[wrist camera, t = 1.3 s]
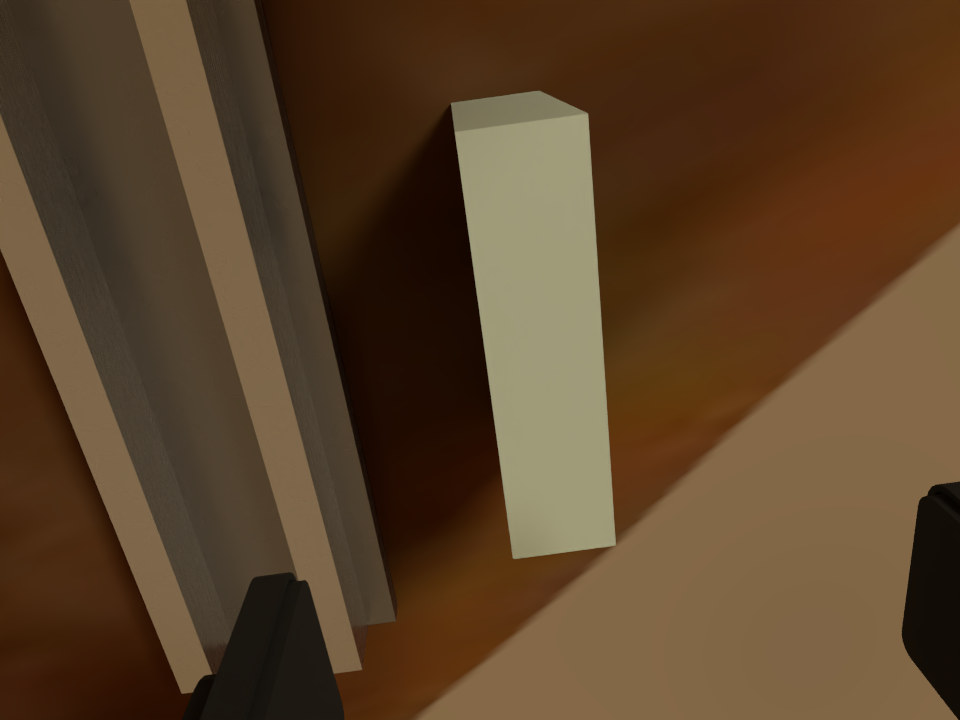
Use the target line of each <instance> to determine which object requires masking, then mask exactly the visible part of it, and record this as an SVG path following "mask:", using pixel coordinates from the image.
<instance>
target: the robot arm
mask: <svg viewBox="0 0 960 720" xmlns="http://www.w3.org/2000/svg"><path fill="white" fill-rule="evenodd" d="M902 639H903V643H904V646H905V649H906V651H907V653H908V655H909V656H910V658H911V659H912V661H913V662H914V663H915V664H916V666H917V667H918V668H919V670H920V671H921V672H922V673H923V675H924V676H925V677H926V678H927V680H928V681H929V682H930V684H931V685H932V686H933V688H934V689H935V690H936V691H937V693H938V694H939V695H940V697H941V698H942V699H943V700H944V701H945V703H946V704H947V706H948V707H949V708H950V709H951V710H952V712H953V713H954V715H955V716H956V717H957V718H958V720H960V482H954V483H946V484H939V485H935V486H932V487H931V489H930V490H929V492H928V495H927V496H925V497H922V498H921V499H920V501H919V505H918V511H917V519H916V527H915V534H914V542H913V549H912V557H911V565H910V573H909V580H908V588H907V595H906V603H905V610H904V619H903V626H902ZM182 720H344V710H343V705H342V701H341V698H340V694H339V691H338V687H337V684H336V680H335V676H334V673H333V669H332V666H331V662H330V659H329V655H328V651H327V648H326V644H325V641H324V637H323V633H322V630H321V626H320V623H319V619H318V616H317V612H316V608H315V605H314V601H313V598H312V594H311V591H310V587H309V584H308V582H307V581H306V580H301V581H297V580H296V577H295V576H294V574H293V573H291V572H287V573H280V574H273V575H265V576H258V577H255V578H253V579H252V581H251V583H250V585H249V588H248V591H247V593H246V596H245V599H244V601H243V604H242V607H241V609H240V612H239V615H238V618H237V620H236V623H235V626H234V628H233V631H232V634H231V637H230V639H229V642H228V645H227V647H226V650H225V653H224V655H223V658H222V661H221V664H220V666H219V669H218V672H217V674H212V675H204V676H203V677H202V678H201V679H200V680H199V681H198V683H197V685H196V687H195V689H194V691H193V694H192V696H191V699H190V701H189V704H188V706H187V709H186V711H185V714H184V716H183V719H182Z"/></svg>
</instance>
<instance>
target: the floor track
mask: <svg viewBox="0 0 960 720" xmlns="http://www.w3.org/2000/svg"><path fill="white" fill-rule="evenodd" d="M0 249H1V252H2V254H3V257H4V259H5V262H6V264H7V267H8V269H9V271H10V274H11V276H12V279H13V281H14V284H15V286H16V289H17V291H18V293H19V296H20V298H21V301H22V303H23V306H24V308H25V311H26V313H27V316H28V318H29V320H30V323H31V325H32V328H33V330H34V333H35V335H36V338H37V340H38V343H39V345H40V347H41V350H42V352H43V355H44V357H45V360H46V362H47V365H48V367H49V369H50V372H51V374H52V377H53V379H54V382H55V384H56V387H57V389H58V392H59V394H60V396H61V399H62V401H63V404H64V406H65V409H66V411H67V414H68V416H69V419H70V421H71V423H72V426H73V428H74V431H75V433H76V436H77V438H78V441H79V443H80V445H81V448H82V450H83V453H84V455H85V458H86V460H87V463H88V465H89V468H90V470H91V472H92V475H93V477H94V480H95V482H96V485H97V487H98V490H99V492H100V495H101V497H102V499H103V502H104V504H105V507H106V509H107V512H108V514H109V517H110V519H111V521H112V524H113V526H114V529H115V531H116V534H117V536H118V539H119V541H120V544H121V546H122V548H123V551H124V553H125V556H126V558H127V561H128V563H129V566H130V568H131V571H132V573H133V575H134V578H135V580H136V583H137V585H138V588H139V590H140V593H141V595H142V597H143V600H144V602H145V605H146V607H147V610H148V612H149V615H150V617H151V620H152V622H153V624H154V627H155V629H156V632H157V634H158V637H159V639H160V642H161V644H162V647H163V649H164V651H165V654H166V656H167V659H168V661H169V664H170V666H171V669H172V671H173V673H174V676H175V678H176V681H177V683H178V686H179V688H180V691H181V693H182V694H184V693H191V692H193V691H194V689H195V687H196V685H197V683H198V681H199V680H200V679H201V678H202V677H203V676H204V675H212V674H217V672H218V669H219V666H220V664H221V661H222V658H223V655H224V653H225V650H226V647H227V645H228V642H229V639H230V637H231V634H232V631H233V628H234V626H235V623H236V620H237V618H238V615H239V612H240V609H241V607H242V604H243V601H244V599H245V596H246V593H247V591H248V588H249V585H250V583H251V581H252V579H253V578H255V577H258V576H265V575H273V574H280V573H287V572H291V573H293V574H294V576H295V577H296V580H297V581H301V580H306V581H307V582H308V584H309V587H310V591H311V594H312V598H313V601H314V605H315V608H316V612H317V616H318V619H319V623H320V626H321V630H322V633H323V637H324V641H325V644H326V648H327V651H328V655H329V659H330V662H331V666H332V669H333V673H334V674H335V673H342V672H350V671H357V670H362V668H363V660H364V653H365V645H366V637H367V630H368V625H371V624H379V623H386V622H394V621H396V617H397V601H396V596H395V592H394V588H393V583H392V579H391V574H390V570H389V565H388V561H387V557H386V552H385V548H384V543H383V539H382V534H381V530H380V525H379V521H378V517H377V512H376V508H375V503H374V499H373V494H372V490H371V486H370V481H369V477H368V472H367V468H366V463H365V459H364V455H363V450H362V446H361V441H360V437H359V432H358V428H357V423H356V419H355V415H354V410H353V406H352V401H351V397H350V392H349V388H348V384H347V379H346V375H345V370H344V366H343V361H342V357H341V352H340V348H339V344H338V339H337V335H336V330H335V326H334V321H333V317H332V313H331V308H330V304H329V299H328V295H327V290H326V286H325V281H324V277H323V273H322V268H321V264H320V259H319V255H318V250H317V246H316V242H315V237H314V233H313V228H312V224H311V219H310V215H309V210H308V206H307V202H306V197H305V193H304V188H303V184H302V179H301V175H300V171H299V166H298V162H297V157H296V153H295V148H294V144H293V139H292V135H291V131H290V126H289V122H288V117H287V113H286V108H285V104H284V100H283V95H282V91H281V86H280V82H279V77H278V73H277V68H276V64H275V60H274V55H273V51H272V46H271V42H270V37H269V33H268V29H267V24H266V20H265V15H264V11H263V6H262V2H261V0H0Z"/></svg>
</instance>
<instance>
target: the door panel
mask: <svg viewBox="0 0 960 720" xmlns="http://www.w3.org/2000/svg"><path fill="white" fill-rule="evenodd" d="M451 108H452V115H453V123H454V130H455V138H456V145H457V152H458V160H459V167H460V174H461V181H462V189H463V196H464V203H465V211H466V218H467V225H468V233H469V240H470V247H471V254H472V262H473V269H474V276H475V284H476V291H477V298H478V306H479V313H480V320H481V328H482V335H483V342H484V349H485V357H486V364H487V371H488V379H489V386H490V393H491V401H492V408H493V415H494V422H495V430H496V437H497V444H498V452H499V459H500V466H501V474H502V481H503V488H504V496H505V503H506V510H507V517H508V525H509V532H510V539H511V547H512V554H513V559H518V558H526V557H533V556H541V555H548V554H555V553H563V552H570V551H578V550H585V549H593V548H600V547H608V546H615V545H616V543H615V527H614V511H613V496H612V480H611V465H610V449H609V434H608V418H607V403H606V387H605V371H604V356H603V340H602V325H601V309H600V294H599V278H598V262H597V247H596V231H595V216H594V200H593V185H592V169H591V154H590V138H589V122H588V113H586V112H584V111H582V110H579V109H577V108H575V107H573V106H571V105H569V104H566V103H564V102H562V101H560V100H558V99H556V98H554V97H551V96H549V95H547V94H545V93H543V92H541V91H534V92H527V93H519V94H512V95H505V96H498V97H491V98H484V99H477V100H469V101H462V102H455V103H451Z"/></svg>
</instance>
